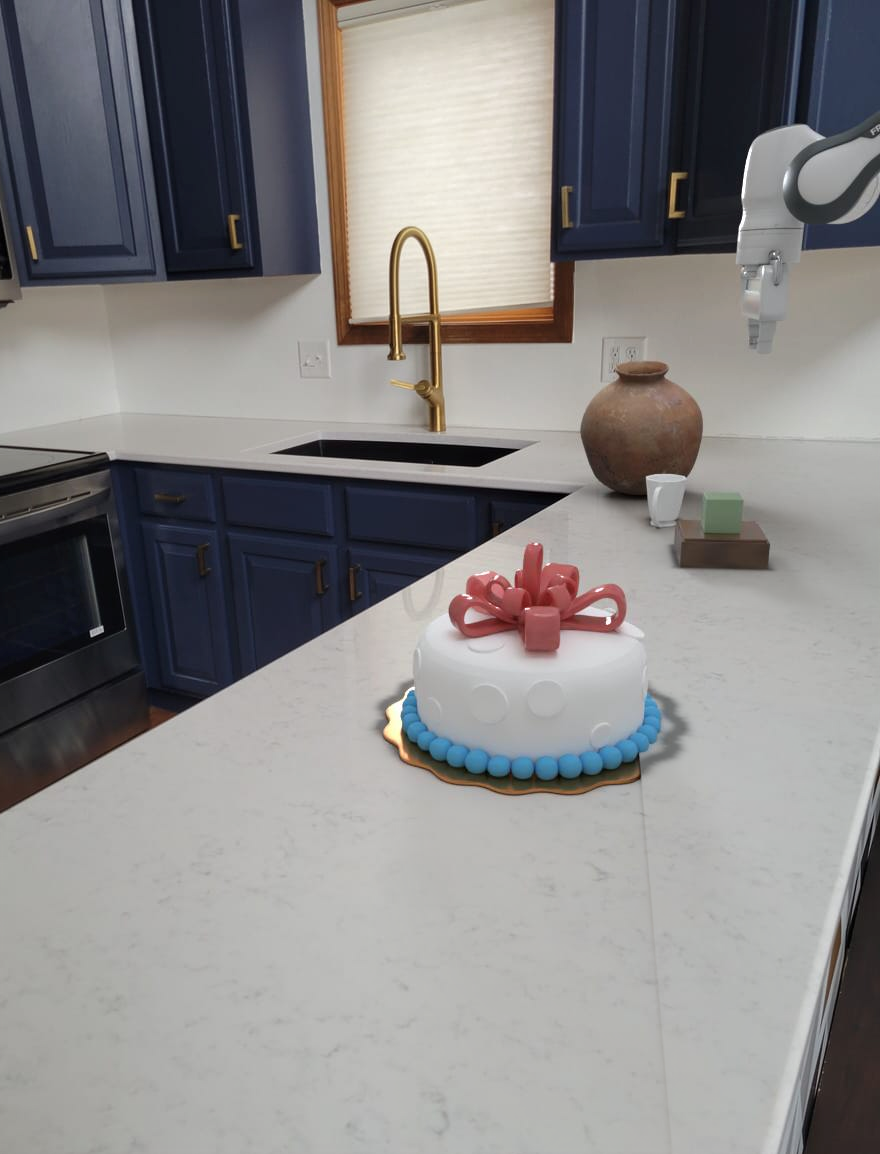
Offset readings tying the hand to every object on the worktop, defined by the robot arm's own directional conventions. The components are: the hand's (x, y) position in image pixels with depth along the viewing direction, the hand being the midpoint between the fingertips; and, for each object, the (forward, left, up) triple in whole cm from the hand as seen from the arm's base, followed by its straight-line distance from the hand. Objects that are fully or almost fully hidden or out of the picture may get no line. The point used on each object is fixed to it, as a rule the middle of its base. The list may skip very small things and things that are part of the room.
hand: (758, 351), depth 144 cm
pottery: (+15, -35, -29) cm, 48 cm away
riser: (+5, +14, -29) cm, 33 cm away
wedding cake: (+29, +73, -29) cm, 84 cm away
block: (+5, +14, -24) cm, 28 cm away
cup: (+12, -8, -29) cm, 33 cm away
